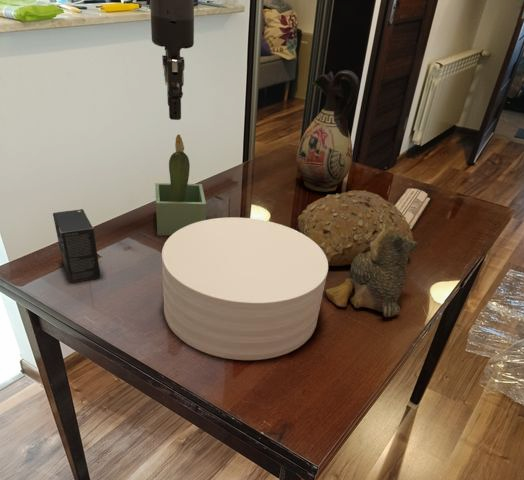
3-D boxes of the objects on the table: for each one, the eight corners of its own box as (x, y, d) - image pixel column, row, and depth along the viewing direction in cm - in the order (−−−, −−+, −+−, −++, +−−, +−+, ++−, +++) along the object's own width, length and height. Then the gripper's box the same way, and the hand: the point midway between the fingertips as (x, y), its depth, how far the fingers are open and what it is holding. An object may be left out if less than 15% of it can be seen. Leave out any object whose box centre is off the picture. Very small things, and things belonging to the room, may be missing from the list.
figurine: (348, 271, 103) (364, 204, 94) (412, 296, 98) (437, 229, 89) (318, 300, 94) (333, 229, 84) (388, 330, 89) (412, 258, 79)
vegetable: (174, 217, 113) (180, 128, 100) (189, 224, 112) (196, 134, 99) (161, 223, 110) (166, 131, 97) (176, 230, 109) (183, 138, 96)
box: (62, 262, 95) (52, 212, 88) (91, 258, 97) (84, 208, 90) (70, 283, 90) (60, 231, 83) (101, 278, 92) (94, 227, 85)
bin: (157, 235, 107) (155, 202, 102) (156, 214, 115) (155, 182, 110) (205, 235, 109) (206, 203, 104) (201, 214, 117) (201, 184, 112)
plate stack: (272, 384, 75) (281, 326, 68) (131, 319, 84) (125, 261, 76) (339, 301, 94) (352, 248, 87) (219, 255, 103) (221, 204, 96)
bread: (370, 221, 123) (383, 175, 116) (417, 264, 109) (435, 214, 101) (283, 228, 116) (289, 179, 108) (320, 275, 101) (331, 222, 93)
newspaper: (406, 192, 141) (408, 186, 140) (430, 199, 139) (432, 193, 138) (384, 221, 124) (386, 215, 123) (411, 229, 122) (413, 222, 121)
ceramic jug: (281, 184, 136) (297, 63, 117) (311, 171, 146) (329, 58, 127) (333, 204, 129) (358, 79, 110) (360, 189, 139) (388, 72, 120)
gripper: (150, 6, 89) (154, 101, 100) (150, 17, 79) (155, 122, 90) (191, 10, 91) (190, 103, 101) (197, 22, 80) (196, 124, 91)
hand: (174, 112), depth 95 cm, fingers open, 8 cm apart
